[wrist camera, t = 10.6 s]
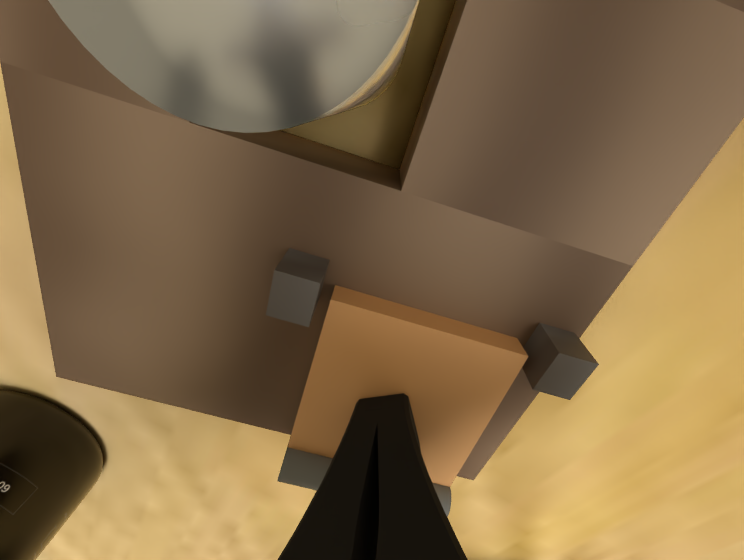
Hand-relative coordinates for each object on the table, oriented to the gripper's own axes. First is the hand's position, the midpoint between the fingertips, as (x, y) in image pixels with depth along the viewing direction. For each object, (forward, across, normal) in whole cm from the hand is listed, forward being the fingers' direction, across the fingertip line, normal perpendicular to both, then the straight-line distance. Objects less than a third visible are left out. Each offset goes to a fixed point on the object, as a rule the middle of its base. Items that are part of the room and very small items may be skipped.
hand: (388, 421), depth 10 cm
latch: (+1, 0, 0) cm, 1 cm away
